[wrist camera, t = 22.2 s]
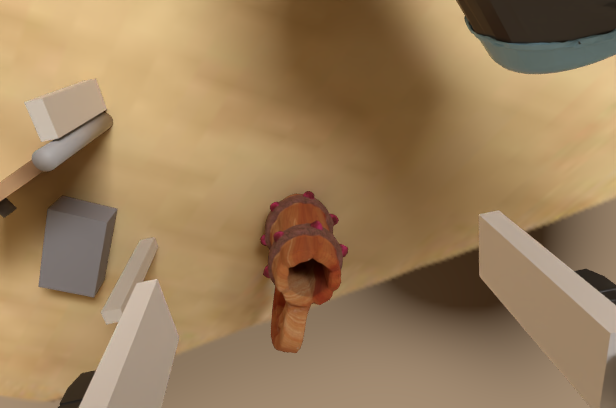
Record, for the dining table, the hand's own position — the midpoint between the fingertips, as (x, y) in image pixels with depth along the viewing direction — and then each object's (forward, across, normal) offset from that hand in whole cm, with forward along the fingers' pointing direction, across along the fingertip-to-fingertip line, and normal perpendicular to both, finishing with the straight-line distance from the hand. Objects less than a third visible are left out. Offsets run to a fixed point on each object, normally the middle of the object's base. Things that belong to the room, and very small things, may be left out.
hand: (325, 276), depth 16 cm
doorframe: (+34, -19, -4) cm, 39 cm away
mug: (+35, -2, -16) cm, 38 cm away
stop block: (+35, -26, -11) cm, 45 cm away
